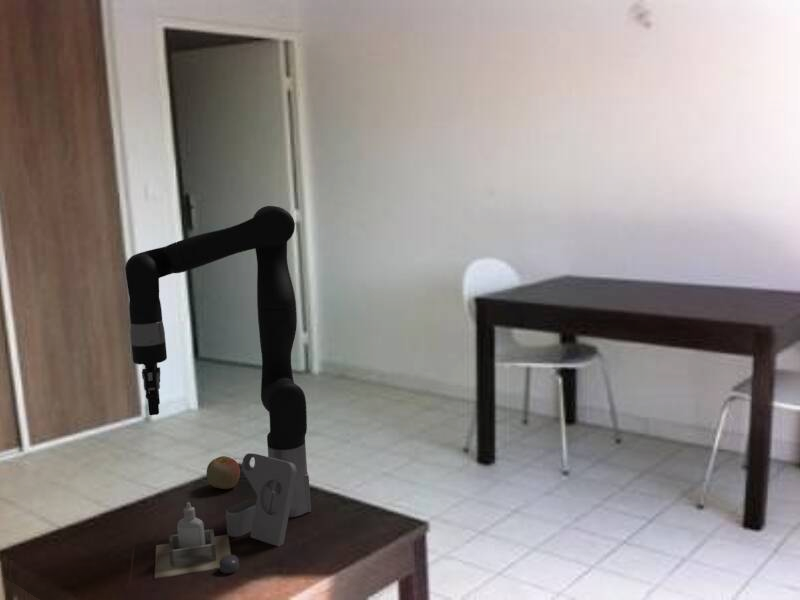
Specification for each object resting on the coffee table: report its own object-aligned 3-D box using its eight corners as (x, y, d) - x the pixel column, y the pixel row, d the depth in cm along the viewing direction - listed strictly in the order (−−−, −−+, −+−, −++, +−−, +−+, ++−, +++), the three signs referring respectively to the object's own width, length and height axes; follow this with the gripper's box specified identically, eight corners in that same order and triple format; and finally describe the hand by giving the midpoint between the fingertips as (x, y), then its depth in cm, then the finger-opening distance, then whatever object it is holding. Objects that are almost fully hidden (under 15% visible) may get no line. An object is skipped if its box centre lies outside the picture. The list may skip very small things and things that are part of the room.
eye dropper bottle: (192, 562, 180) (187, 509, 178) (177, 554, 183) (172, 503, 181) (208, 554, 183) (204, 502, 181) (193, 547, 186) (189, 496, 185)
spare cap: (238, 560, 179) (238, 553, 178) (240, 574, 175) (239, 567, 174) (219, 563, 178) (218, 556, 177) (220, 577, 174) (220, 570, 173)
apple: (225, 479, 231) (222, 451, 229) (248, 485, 225) (245, 457, 224) (201, 490, 224) (198, 461, 222) (224, 496, 218) (221, 467, 217)
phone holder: (222, 536, 194) (216, 462, 191) (254, 521, 202) (248, 450, 199) (274, 554, 184) (269, 477, 181) (306, 537, 191) (301, 462, 189)
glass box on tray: (228, 538, 193) (226, 520, 192) (232, 569, 177) (231, 549, 177) (156, 549, 189) (154, 530, 188) (154, 582, 173) (153, 561, 173)
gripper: (164, 345, 185) (171, 416, 187) (165, 334, 198) (171, 400, 201) (129, 348, 183) (136, 420, 185) (132, 337, 196) (139, 403, 199)
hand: (154, 409), depth 193 cm, fingers open, 8 cm apart
